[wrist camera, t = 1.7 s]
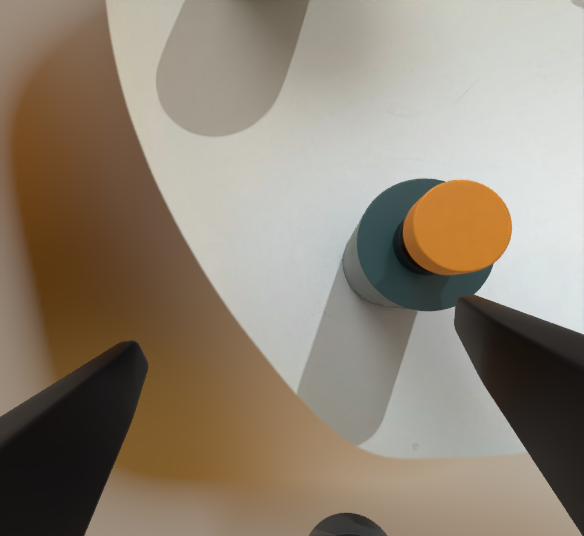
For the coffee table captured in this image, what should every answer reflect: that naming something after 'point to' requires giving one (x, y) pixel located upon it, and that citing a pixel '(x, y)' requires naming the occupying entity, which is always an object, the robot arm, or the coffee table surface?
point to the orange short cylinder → (457, 228)
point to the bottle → (400, 257)
